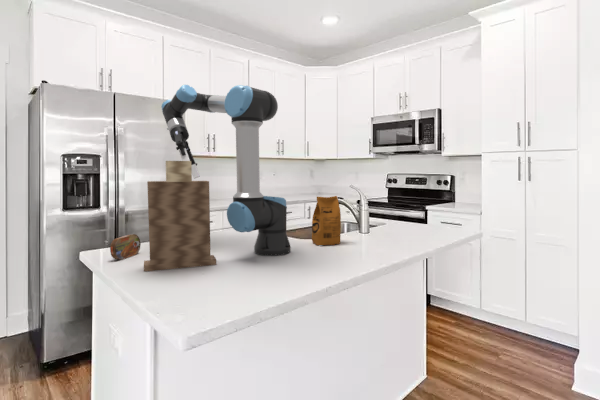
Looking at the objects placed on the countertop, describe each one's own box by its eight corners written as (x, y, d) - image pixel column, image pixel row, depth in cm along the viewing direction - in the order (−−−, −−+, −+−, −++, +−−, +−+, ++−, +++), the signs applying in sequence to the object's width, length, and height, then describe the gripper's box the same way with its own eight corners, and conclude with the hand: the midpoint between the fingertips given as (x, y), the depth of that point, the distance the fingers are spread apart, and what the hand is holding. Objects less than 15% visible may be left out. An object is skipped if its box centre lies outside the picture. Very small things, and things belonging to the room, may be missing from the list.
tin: (116, 262, 135) (115, 239, 134) (108, 261, 136) (107, 239, 135) (141, 253, 150) (140, 232, 149) (134, 252, 150) (134, 232, 150)
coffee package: (309, 242, 171) (309, 195, 169) (333, 240, 176) (333, 195, 174) (318, 246, 162) (318, 197, 160) (342, 244, 167) (343, 196, 165)
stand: (213, 260, 138) (212, 180, 135) (216, 264, 132) (214, 181, 129) (144, 266, 129) (141, 181, 127) (143, 271, 123) (140, 182, 120)
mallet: (186, 179, 144) (186, 161, 143) (191, 181, 125) (191, 160, 124) (165, 180, 141) (164, 161, 140) (166, 181, 122) (166, 160, 121)
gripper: (179, 148, 172) (192, 185, 164) (159, 117, 149) (172, 159, 141) (194, 142, 173) (208, 179, 165) (176, 110, 150) (191, 152, 142)
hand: (192, 170), depth 153 cm, fingers open, 13 cm apart
